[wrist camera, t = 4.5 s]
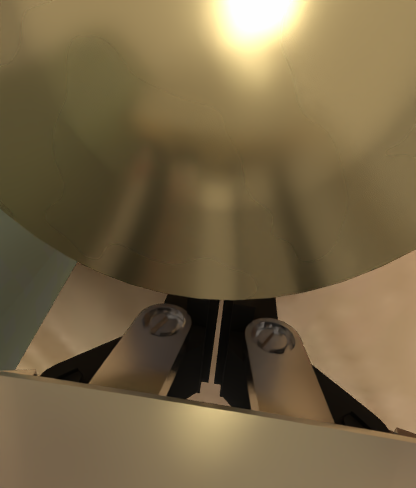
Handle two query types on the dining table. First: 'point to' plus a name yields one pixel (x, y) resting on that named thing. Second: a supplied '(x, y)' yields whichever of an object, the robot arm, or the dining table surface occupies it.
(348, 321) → the dining table surface
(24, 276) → the disposable coffee cup
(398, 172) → the balance
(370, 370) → the dining table surface
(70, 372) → the robot arm
